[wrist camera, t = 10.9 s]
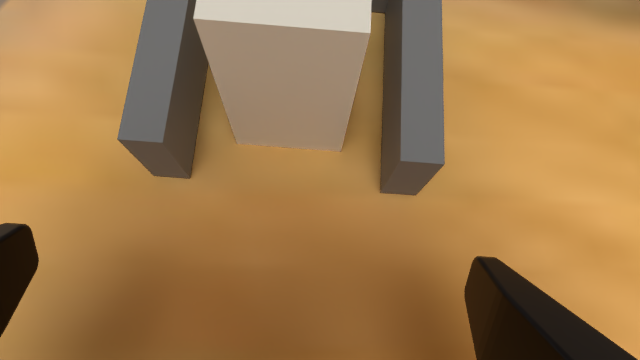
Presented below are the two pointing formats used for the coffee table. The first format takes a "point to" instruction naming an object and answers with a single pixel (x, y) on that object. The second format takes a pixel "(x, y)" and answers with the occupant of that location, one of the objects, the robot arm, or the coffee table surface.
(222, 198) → the coffee table surface
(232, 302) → the coffee table surface
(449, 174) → the coffee table surface
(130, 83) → the frame
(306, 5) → the white rectangular block
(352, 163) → the coffee table surface
